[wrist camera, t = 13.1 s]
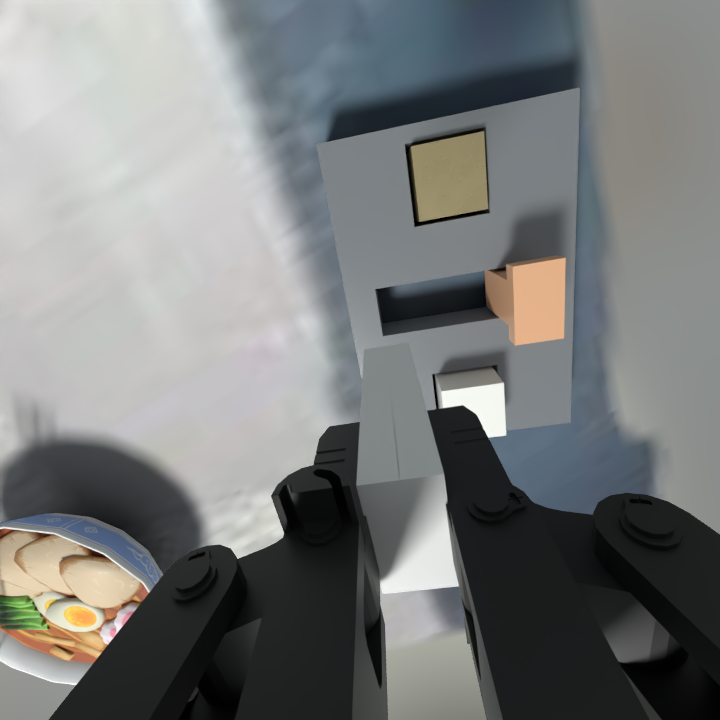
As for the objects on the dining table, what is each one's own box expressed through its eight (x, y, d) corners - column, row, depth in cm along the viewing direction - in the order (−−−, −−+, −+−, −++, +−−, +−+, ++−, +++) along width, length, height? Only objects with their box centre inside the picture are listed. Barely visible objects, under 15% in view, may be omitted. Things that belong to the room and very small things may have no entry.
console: (323, 152, 27) (316, 144, 24) (553, 103, 25) (580, 87, 22) (375, 425, 35) (374, 446, 32) (551, 402, 33) (570, 422, 30)
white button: (433, 369, 31) (441, 391, 27) (488, 361, 30) (503, 382, 26) (439, 415, 32) (446, 442, 28) (491, 409, 32) (506, 435, 28)
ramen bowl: (187, 641, 48) (152, 721, 41) (7, 596, 47) (-65, 671, 39) (220, 498, 39) (182, 567, 32) (-2, 436, 37) (-98, 493, 30)
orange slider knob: (483, 255, 28) (512, 266, 22) (524, 247, 28) (565, 257, 22) (487, 318, 30) (515, 345, 24) (525, 312, 29) (564, 338, 23)
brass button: (406, 155, 26) (410, 146, 23) (468, 142, 26) (484, 131, 22) (413, 220, 28) (419, 221, 24) (473, 209, 28) (488, 208, 24)
